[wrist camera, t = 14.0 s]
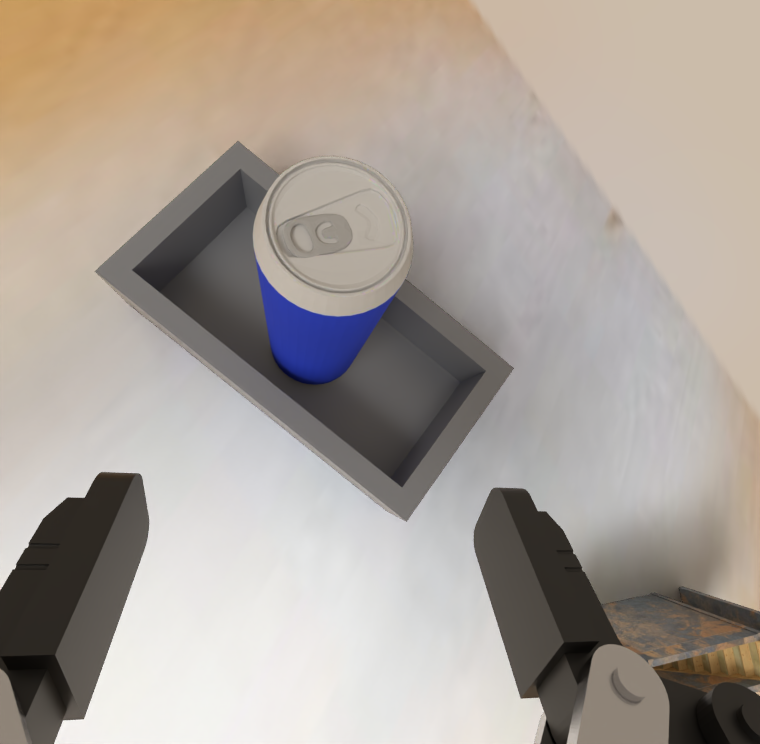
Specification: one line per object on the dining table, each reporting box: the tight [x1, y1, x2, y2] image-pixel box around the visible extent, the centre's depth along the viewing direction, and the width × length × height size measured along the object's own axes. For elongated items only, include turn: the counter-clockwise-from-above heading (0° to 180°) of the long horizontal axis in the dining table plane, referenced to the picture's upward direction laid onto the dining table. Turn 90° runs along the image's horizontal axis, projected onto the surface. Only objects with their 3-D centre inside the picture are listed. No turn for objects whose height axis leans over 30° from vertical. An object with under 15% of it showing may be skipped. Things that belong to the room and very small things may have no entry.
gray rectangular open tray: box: [95, 141, 514, 522], centre depth 27 cm, size 20×10×5 cm, turn 52°
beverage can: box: [253, 156, 413, 385], centre depth 21 cm, size 5×5×15 cm
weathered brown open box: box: [601, 587, 760, 693], centre depth 26 cm, size 11×3×10 cm, turn 97°
